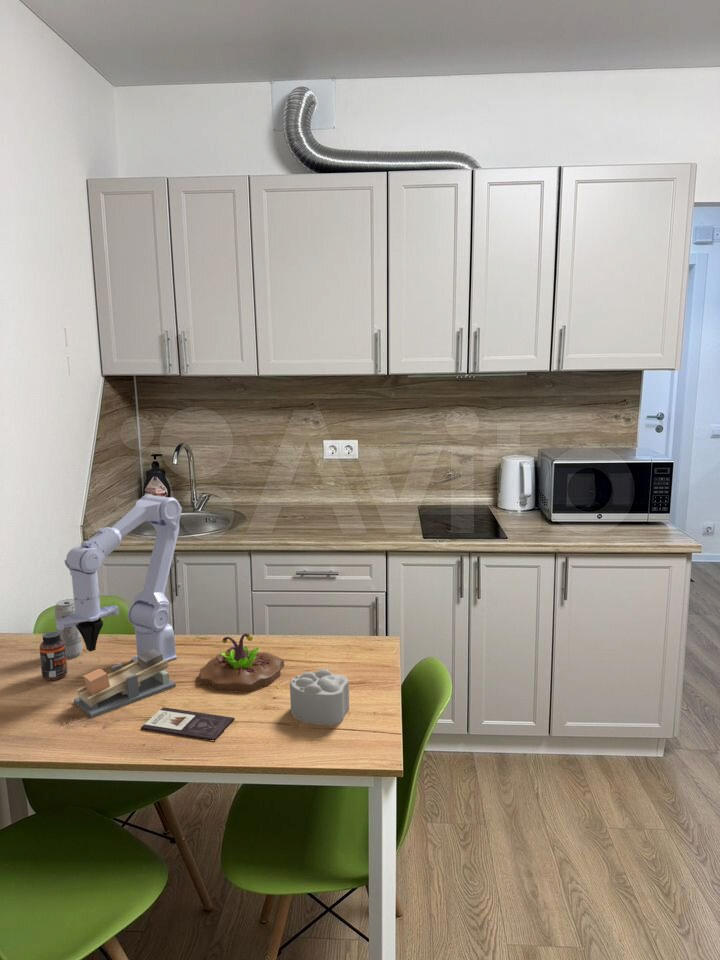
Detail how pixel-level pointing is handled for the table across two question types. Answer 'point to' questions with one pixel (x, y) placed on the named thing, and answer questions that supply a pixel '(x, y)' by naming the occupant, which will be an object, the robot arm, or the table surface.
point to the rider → (96, 681)
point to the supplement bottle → (53, 656)
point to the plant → (241, 669)
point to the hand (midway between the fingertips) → (91, 649)
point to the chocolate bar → (188, 724)
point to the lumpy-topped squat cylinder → (319, 697)
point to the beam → (142, 668)
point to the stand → (129, 692)
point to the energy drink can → (69, 629)
